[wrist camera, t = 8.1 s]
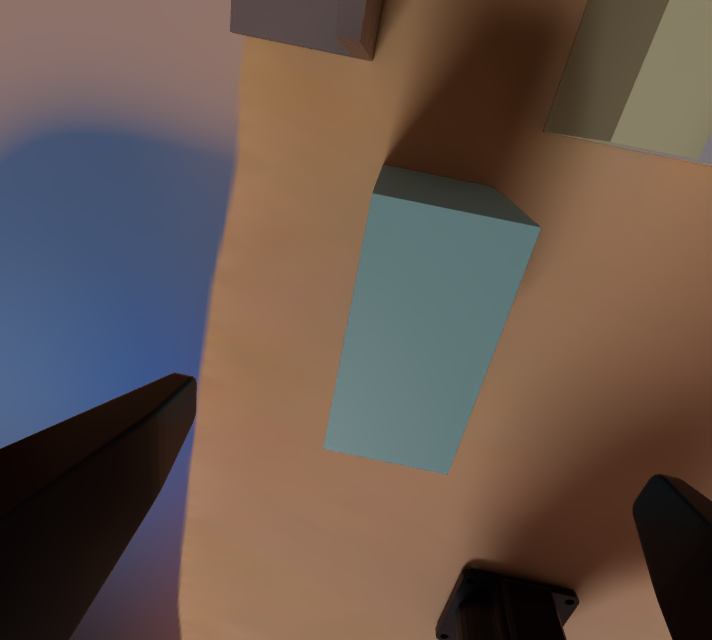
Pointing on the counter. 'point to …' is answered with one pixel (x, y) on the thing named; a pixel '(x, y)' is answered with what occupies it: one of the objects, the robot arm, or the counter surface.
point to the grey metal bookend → (311, 23)
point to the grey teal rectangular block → (425, 316)
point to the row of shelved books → (640, 78)
